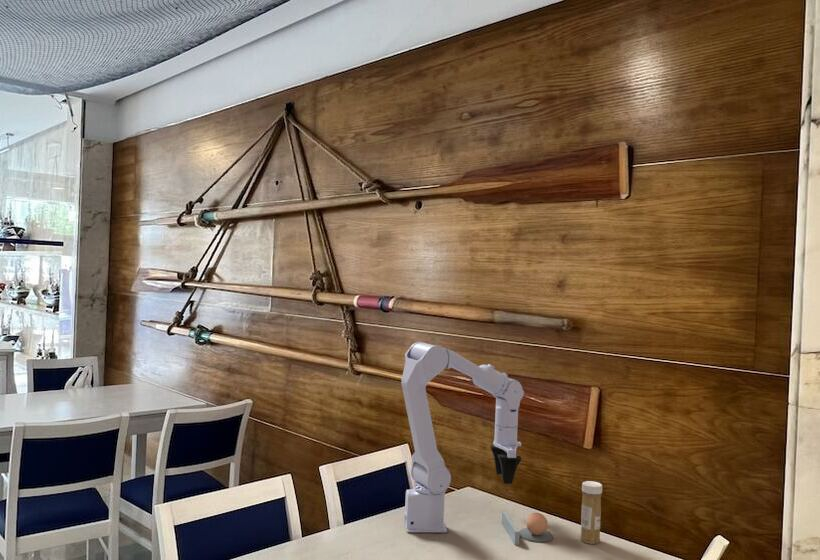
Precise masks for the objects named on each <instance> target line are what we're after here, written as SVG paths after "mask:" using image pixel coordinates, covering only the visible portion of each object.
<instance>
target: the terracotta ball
mask: <svg viewBox="0 0 820 560" xmlns="http://www.w3.org/2000/svg"><path fill="white" fill-rule="evenodd" d="M547 519H548V518H546V517H545V515H544V514H542V513H540V512H533V513H530V514H529V515H528V516H527V518H526V521H525V522H526V523H525V525H526V528H527V529H528V530H529V532H530V533H532V534H534V535H542V534H543V533H545V531H546V530H547V531H548V528H549V527H548V525H549V522H548V520H547Z"/></svg>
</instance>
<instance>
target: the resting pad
mask: <svg viewBox="0 0 820 560" xmlns="http://www.w3.org/2000/svg"><path fill="white" fill-rule="evenodd" d="M519 532H520V534H519V538H521V539H523V540H526V541H528V542H531V543H532V542H533V543H549V542H551V541H553V539H554V534H553V533H552V532H551V531H548V529H547V530H546V531H545V533H543V534H542V535H534V534H532V533H530V532H529V530H528V529H527V527H525V528H521V529H520V530H519Z"/></svg>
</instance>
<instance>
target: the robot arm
mask: <svg viewBox="0 0 820 560" xmlns="http://www.w3.org/2000/svg"><path fill="white" fill-rule="evenodd" d="M404 358H405V359H404V361H405V363H404V369H403V372H402V376H401V379H400V381H401V382H400V383H401V389H402V393H403V399H404V404H405V408H406V413H407V419H408V424H409V428H410V433H411V434H410V435H411V439H412V443H413V444H412V445H413V448H414V453H412V455H411V467H410V475H411V478H412V480H413V481H414V488H411V489H406V491H405V504H404V505H405V506H404V515H403V517H404V518H403V520H404V526H405V529H406V532H407V533H447V532H448V529H447V526H446V523H445V521H444V520H445V519H444V517H445V498H446V497H445V495H446V490H447V489H448V488H449V486H450V485H451V480H452V476H451V473H450V470H449V469H448V468H447V467H446V464H445V460H444V458H443V456H442V455H441V453H440V452H439V450H438V445H437V441H436V437H435V430H434V426H433V420H432V417H431V409H430V405H429V399H428V396H427V389H426V387H427V386H428V384H429V383H430V381H432V380H433V379H434V378H435V377H436V376H437V375H439V374H441V372H442V371H444V370H449V369H451V368H452V369H454V370H456V371H458V372H460V373H461V374H463V375H466V376H468V377H470V378H472V382H473V385H475V386H476V387H478V388H480V389H482V390H484V391H486V392H488V393H489V394H491V395H492V396H493V398H495V412H494V413H495V414H494V415H495V417H494V439H493V443H492V445H490V446H489V449H490V450H491V452H492V457H493V460H494V461H493V462H494V467H495V472H496V475H501V478H502V482H503V484H505V485H509V484H510V485H511V484H513V481H514V478H515V474H516V470H517V468H518V466H519V464H520V463H521V461H522V456H520V455H517V448H518V447H522V442H521V441H518V426H519V425H518V424H519V409H520V405H521V400H522V399H523V398H524V395H525V390H523V386H522V384H521V382H519V381H518V380H517V379H514V378H510V377H508V376H509V375H508V374H507V373H505V372H500V371H498V370H496V369H495V365H492V364H489V363H488V364H480V365H479V366H478V365H477V364H475V363H473V362H472V361H470V360H469V359H467V358H465V357H464V356H463V355H460V354H459V353H457V352H456V351H453V350H451V349H448V348H445V347H444V346H441V345H433V344H431V343H426V342H425V341H417V342H414V343H413V344H412V345H411V346H410V347H409V348H408V350H407V351H406V353H405V354H404Z"/></svg>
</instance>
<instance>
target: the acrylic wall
mask: <svg viewBox="0 0 820 560" xmlns="http://www.w3.org/2000/svg"><path fill="white" fill-rule="evenodd" d="M501 512H502V513H501V524H502V526H503V528H504V530H505V532H506V533H507V534H508V537H509V538H510V540H511V541H512V544H513V545H515V546H519V545H520V536H519V534H520V532H519V531H520V530H519V529H518V527H517V526H516V524H515V523H514V521H513V520H512V518H511V516H510V515H509V514H508V512H507V511H506V510H505V511H504V510H503V511H501Z"/></svg>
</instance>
